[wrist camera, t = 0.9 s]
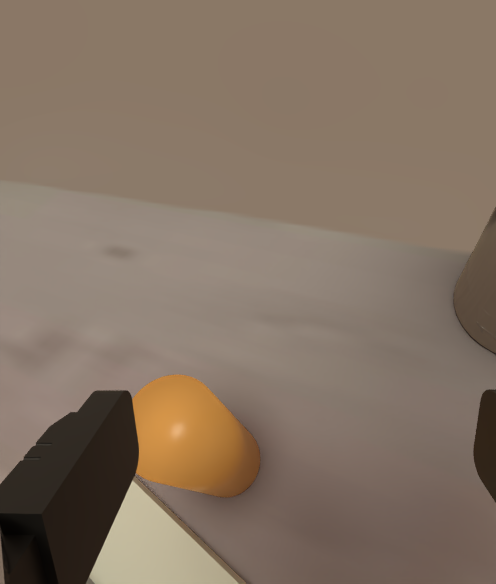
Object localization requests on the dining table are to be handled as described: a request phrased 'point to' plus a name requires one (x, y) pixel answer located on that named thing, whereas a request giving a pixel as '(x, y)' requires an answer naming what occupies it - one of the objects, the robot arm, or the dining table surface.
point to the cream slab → (155, 547)
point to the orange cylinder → (192, 439)
